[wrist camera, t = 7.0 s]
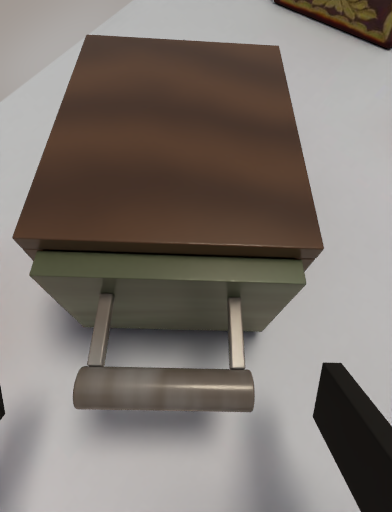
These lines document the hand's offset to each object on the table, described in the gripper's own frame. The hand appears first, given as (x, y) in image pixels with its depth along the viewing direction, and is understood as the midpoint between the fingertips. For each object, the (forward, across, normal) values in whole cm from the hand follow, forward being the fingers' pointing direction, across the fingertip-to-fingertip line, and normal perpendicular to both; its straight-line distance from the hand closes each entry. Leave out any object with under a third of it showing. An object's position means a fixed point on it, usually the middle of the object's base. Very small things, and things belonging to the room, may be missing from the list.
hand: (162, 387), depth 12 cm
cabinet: (+14, 0, +4) cm, 15 cm away
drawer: (+11, 0, +2) cm, 11 cm away
